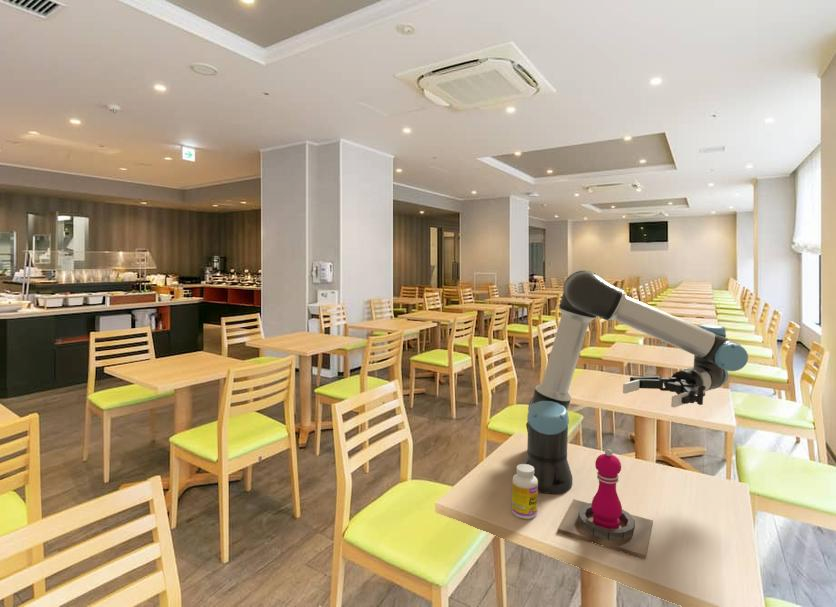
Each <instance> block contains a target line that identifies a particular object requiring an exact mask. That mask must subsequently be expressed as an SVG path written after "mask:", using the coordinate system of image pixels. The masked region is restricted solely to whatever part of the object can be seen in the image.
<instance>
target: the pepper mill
mask: <svg viewBox="0 0 836 607" xmlns="http://www.w3.org/2000/svg"><path fill="white" fill-rule="evenodd" d="M595 468H596V470H597V471H596V478H597V480H598V489H597V492H595V495H594V496H593V497H592V500H591V503H592V505H591V508H592V511H593V512H594V515H593V523H594V524H595V525H597V526H600V527H604V528H607V529H619V523H620V520H619V517H620V516H621V515H622V509H623V507H622V503H621V500H620V498H619V495H618V493H617V492H618V491H617V483H619V478H620V477H619V476H620V475H618V474H620V472H621V470H622V464H621V461H620V459H619V458H618V457H617V456H616V455H614V454H613V451H612V449H610V448H606V449H605V450H604V453H602V454H600V455H598V456H597V458H596V460H595Z"/></svg>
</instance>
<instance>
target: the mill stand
mask: <svg viewBox="0 0 836 607" xmlns="http://www.w3.org/2000/svg"><path fill="white" fill-rule="evenodd" d="M591 505H592V502H590V503H589V502H586V501H583V500H577V499H575V498H574V499H572V500H571V503H570V505H569V507H568V509H567V510H566V512H565V514H564V516H563V518H562V520H561V522H560V524H559V525H558V527H557V533H559V534H561V535H562V534H563V535H565V536H568V535H569V536H570V537H571V538H576V539H578V540H582V541H585V542H589V543H591V542H593V543H592V544H594V543H596V544H595V545H597V544H599V545H598V546H601V545H603V546H602V547H604V546H605V548H607V547H608V549H610V548H611V550H614V549H615V550H614V551H617V550H618V551H617V552H620V551H622V552H621V553H623V552H624V554H627V553H628V554H627V555H629V556H630V555H631V556H633V555H634V557H637V558H640V559H644V560H646V557H647V553H648V548H649V544H650V538H651V534H652V531H653V530H652V529H653V526H654V525H653V523H654V520H652V519H649V518H645V517H641V516H638V515H633V514H631V513H629V512H628V511H626V510H624V509H623V508H622V515H621V516H620V517H619V520H620V523H619V529H607V528H604V527H600V526H597V525H595V524H594V523H593V515H594V512H593V511H592V508H591ZM569 536H568V537H569Z"/></svg>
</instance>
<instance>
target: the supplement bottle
mask: <svg viewBox="0 0 836 607" xmlns="http://www.w3.org/2000/svg"><path fill="white" fill-rule="evenodd" d="M515 472H516V474H514V475H513V477H512V484H511V485H512V487H511V491H512V492H511V512H512V513H513V515H514V516H516V517H517V518H519V519H522V518H523V520H531V519H534V518H536V516H537V514H538V480H537V478H536V477H535V476H534V467H533V466H531V465H528V464H524V463H520V464H518V465H517V466H516V471H515Z"/></svg>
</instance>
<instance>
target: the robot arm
mask: <svg viewBox="0 0 836 607" xmlns="http://www.w3.org/2000/svg"><path fill="white" fill-rule="evenodd" d="M562 290H563V292H562V296H561V299H560V302H559V306H558V310H559V311H560V313H561V317H560V319H559V320H560V321H559V324H558V327H557V330H556V333H555V337H554V341H553V343H552V346H551V347H552V348H551V350H550V354H549V357H548V361H547V365H546V367H545V371H544V374H543V377H542V381H541V382H540V384H537V385H536V386H535V388H534V392H533V395H532V398H531V399H530V400H529V403H528V409H527V416H526V418H527V419H528V432H527V449H526V450H527V451H526V452H527V455H526V457H525V460H524V463H523V464H528V465H531V466H533V467H534V476H535V477H536V478H537V480H538V492H539V493H543V494H562V493H566V492H568V491H569V490H571V489H572V487H573V475H572V474H573V473H572V471H571V467H570V464H569V462H568V436H569V435H568V433H569V432H568V431H569V423H570V421H569V420H570V419H569V413H568V410H569V406H570V403H571V400H572V397H571V395H570V393H569V389H570V386H571V384H572V380H573V376H574V373H575V370H576V366H577V363H578V361H579V357H580V354H581V350H582V347H583V343H584V340H585V337H586V333H587V332H588V331H587V330H588V328H589V325H590V323H591V322H592V321H594V320H596V319H597V318H600V319H603V320H605V321H607V322H609V321H611V320H614V321H616V322H618V323H619V324H620V323H621V324H623V325H625V326H627V327H630V328H632V329H634V330H637V331H639V332H641V333H644V334H646V335H648V336H650V337H653V338H655V339H658V340H659V341H662V342H664V343H666V344H668V345H672V346H673V347H676V348H678V349H680V350H682V351H685V352H686V353H689V354H691V355H693V356H694V358H693V367H689V368H685V369H682V370H678V371H676V372H674V373H673V374H672V376H671V377H662V376H661V374H660V375H658V374H657V375H652V376H651V375H648V376H647V375H645V376H630V377H629V381H628V382H623V383H622V384H623V385H622V393H623V394H628V393H632V392H635V391H636V392H637V391H639V390H640V389H646V390H647V389H650V390H651V389H652V390H654V389H655V390H660V391H663V392H670V393H675V394H676V395H673V396H671V401H670V402H671V403H670V407H671V408H674V409H675V408H677V407H679V406H683V405H688V404H695V403H697V405H699V406H701V405H704V397H706V392H708V391H711V390H715V389H718V388H720V387H722V386H724V385H725V384H726V383H727V382H728V380H729V372H736V371H739V370H742V369H743V368H744V367H745V366H746V365H747V363H748V361H749V354H748V352H747V350H746V348H744V347H743V346H742V345H741V344H739V343H737V342H735V341H732V340H730V339H728V338H727V333H726V332H727V330H726V327H725V326H722V325H717V324H709V323H708V324H705V323H704V324H699V325H695V324H693V323H690V322H688V321H686V320H684V319H681V318H679V317H677V316H675V315H672V314H670V313H667V312H665V311H663V310H660V309H658V308H656V307H653V306H651V305H649V304H647V303H644V302H642V301H640V300H638V299H635V298H632V297H630V296H628V295H626V293H625V292H624V289H621V288H619V287H616V286H615V285H613V284H611V283H609V282H607V281H606V280H605V279H603V277H601V276H599V274H596V273H595V272H593V271H590V270H577V271H575V272H572V273H571V274H570V275H569V276H567V278H566V279H565V281H564V283H563V289H562ZM527 419H526V420H527Z"/></svg>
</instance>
